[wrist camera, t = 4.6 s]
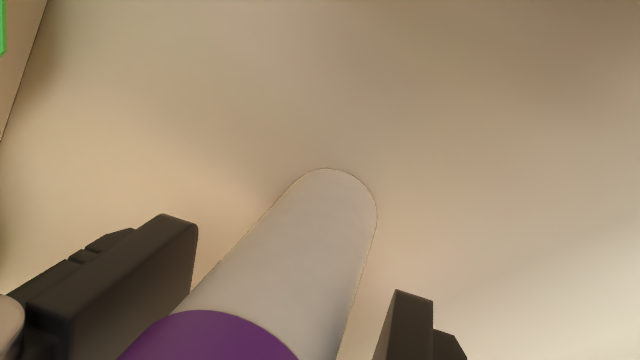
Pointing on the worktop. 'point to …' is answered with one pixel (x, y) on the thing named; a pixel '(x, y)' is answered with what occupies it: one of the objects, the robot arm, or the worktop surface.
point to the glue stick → (277, 282)
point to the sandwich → (15, 47)
